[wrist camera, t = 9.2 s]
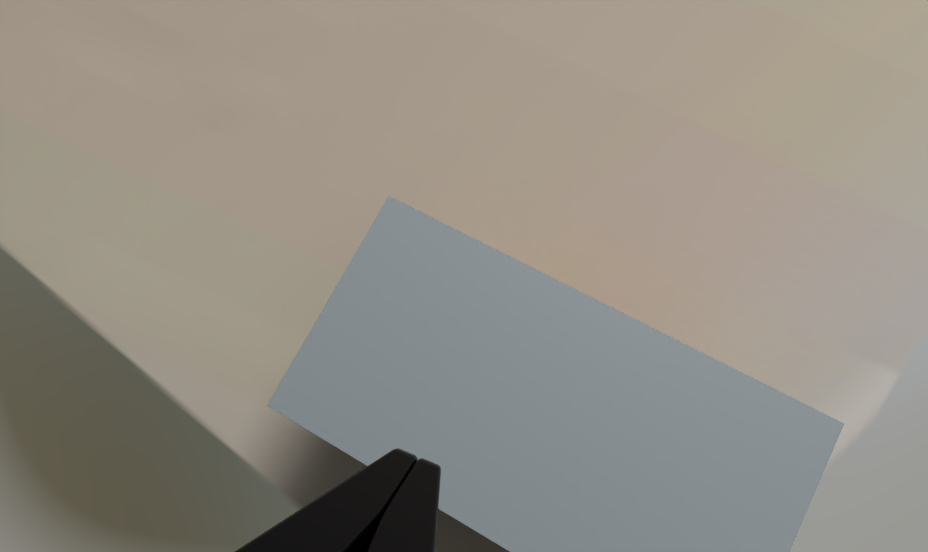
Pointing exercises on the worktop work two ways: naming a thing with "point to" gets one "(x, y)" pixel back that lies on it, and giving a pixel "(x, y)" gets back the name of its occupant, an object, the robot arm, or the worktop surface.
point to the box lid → (548, 405)
